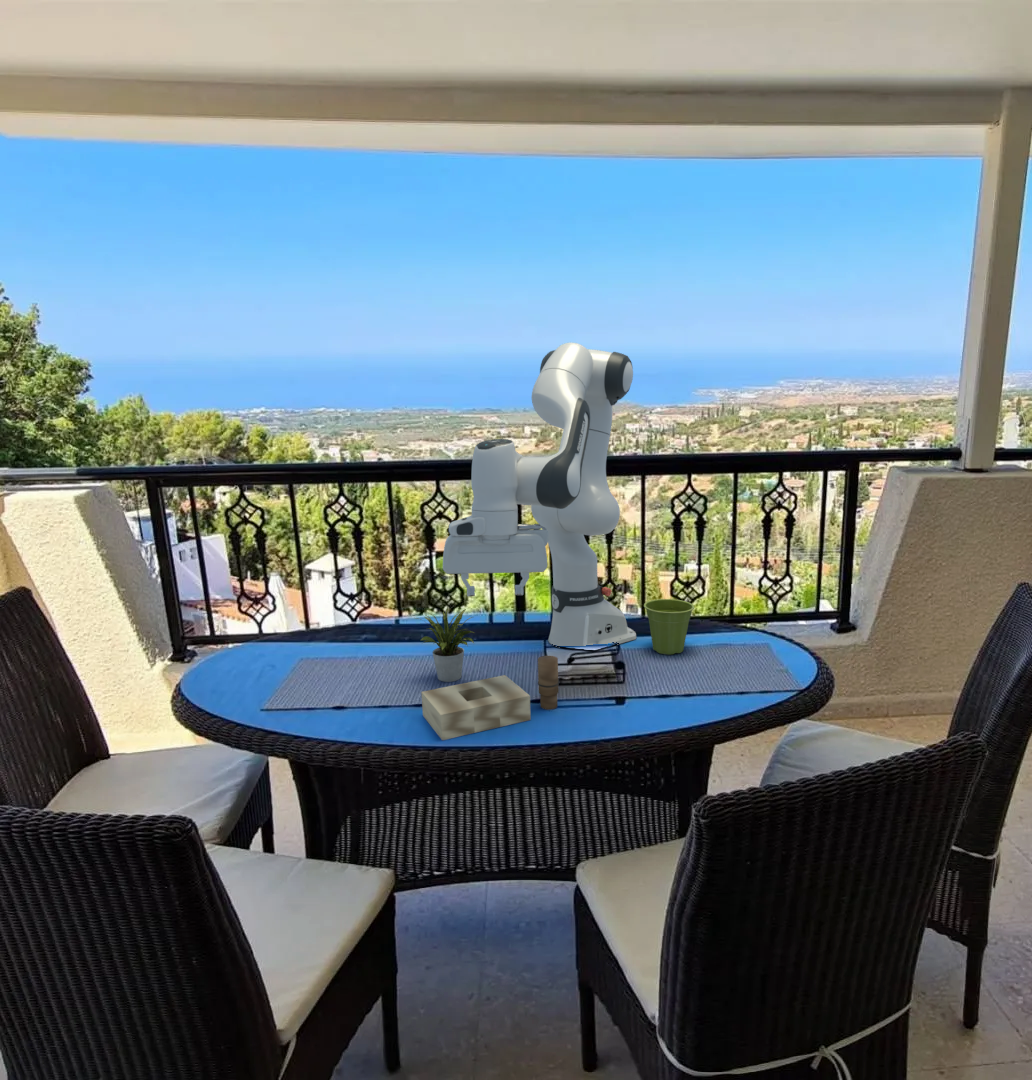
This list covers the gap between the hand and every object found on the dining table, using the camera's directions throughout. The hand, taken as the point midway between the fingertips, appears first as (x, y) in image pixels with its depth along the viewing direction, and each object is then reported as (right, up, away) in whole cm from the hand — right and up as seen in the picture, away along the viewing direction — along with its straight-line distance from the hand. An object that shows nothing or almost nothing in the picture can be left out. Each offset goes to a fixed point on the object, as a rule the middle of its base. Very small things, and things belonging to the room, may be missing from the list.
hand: (495, 595), depth 142 cm
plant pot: (+41, -16, +35) cm, 56 cm away
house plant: (-12, -21, +21) cm, 32 cm away
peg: (+11, -23, +5) cm, 26 cm away
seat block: (-4, -24, +1) cm, 24 cm away
